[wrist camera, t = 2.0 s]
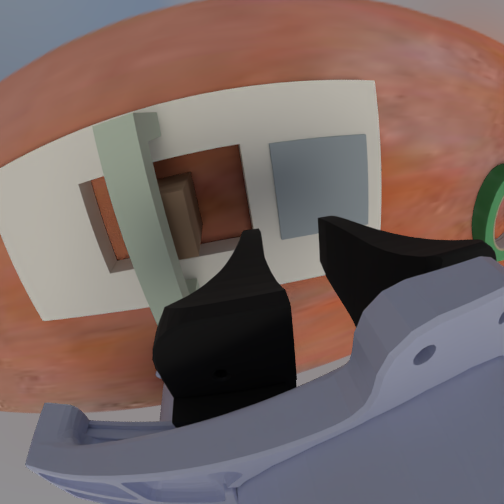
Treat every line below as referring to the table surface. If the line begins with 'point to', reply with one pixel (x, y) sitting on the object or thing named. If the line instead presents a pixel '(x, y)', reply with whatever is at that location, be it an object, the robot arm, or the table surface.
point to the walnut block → (182, 213)
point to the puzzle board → (185, 142)
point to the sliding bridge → (141, 207)
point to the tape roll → (489, 210)
